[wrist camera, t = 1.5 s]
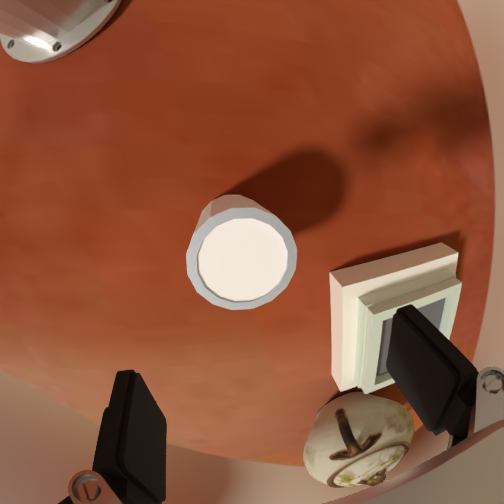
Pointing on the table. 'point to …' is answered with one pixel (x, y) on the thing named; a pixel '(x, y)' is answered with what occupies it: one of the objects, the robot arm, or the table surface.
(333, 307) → the stand
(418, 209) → the table surface
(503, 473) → the robot arm
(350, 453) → the sugar bowl
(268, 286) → the white short cylinder
